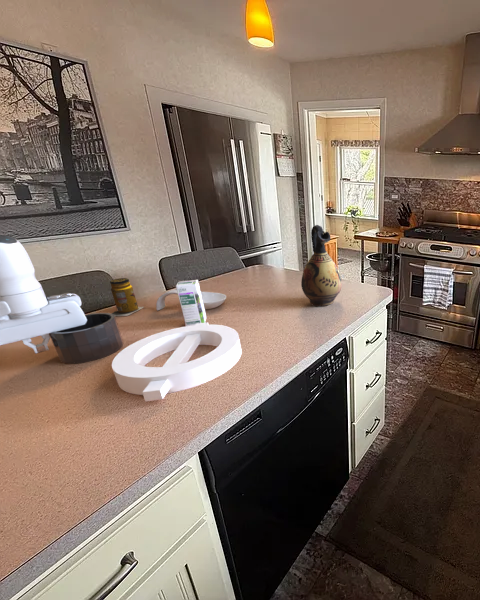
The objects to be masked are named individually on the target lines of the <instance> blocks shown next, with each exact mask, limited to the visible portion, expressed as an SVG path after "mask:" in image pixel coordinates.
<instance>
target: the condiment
mask: <svg viewBox="0 0 480 600" xmlns="http://www.w3.org/2000/svg"><path fill="white" fill-rule="evenodd" d="M109 284H110V287H111V288H110V291H111V295H112V298H113V301H114V304H115V307H116V311H113V312H112V313H111V312H110V314H113V315H114V316H115V317H128V316H131V315H133V314H134V313H137V312H138V311H141V310H142V309H143V308H145V306H139V304H138V301H137V298H136V294H135V291H134V287H133V285H131V282H130V279H129V278H127V277H121V278H115V279H111V280H110V281H109Z"/></svg>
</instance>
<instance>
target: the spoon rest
mask: <svg viewBox="0 0 480 600" xmlns="http://www.w3.org/2000/svg"><path fill="white" fill-rule="evenodd" d="M171 295H177V296H178V293H177V289H176V288H175V289H170V290H167V291H166V292H164V293H163V294H161V295H160V296H159V297H158V298H157V300H156V302H155V309H156V311H160V310H161V311H162V309H164V308H165V307H166V298H167V297H168V296H171ZM201 295H202V300H203V304H204V309H205V310H213V309H216V308H217V307H219V306H222V304H223V303H224V302H225V301H226V299H227V295H226V294H225V293H221V292H215V291H214V292H213V291H201Z"/></svg>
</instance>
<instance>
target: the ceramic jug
mask: <svg viewBox="0 0 480 600" xmlns="http://www.w3.org/2000/svg"><path fill="white" fill-rule="evenodd" d="M310 231H311V232H310V234H311V236H310V238H311V244H312V246H311V247H312V255H311V257H310V258H309V260H308V261H307V263H306V265H305V267H304V269H303V272H302V274H301V283H300V284H301V290H302V292H303V294H304V296H305V297H306V298H307V299H308V300H309V302H310V304H311V305H312V306H313V307H327V306H330V305H333V304H334V302H335V300H336V298H337V297H338V295H339V294H340V292H341V290H342V287H343V285H342V284H343V283H342V276H341V273H340V270H339V268H338V266H337V264H336V263H335V261H334V260H333V258H332V257H331V255H330V254H329V253H328V251H327V250H326V245H325V244H326V243H328V242H330V241H331V234H330V232H329V231H325V232H324V230H323V227H322V226H321V225H319V224H315V225H313V226H312V228H311V230H310Z"/></svg>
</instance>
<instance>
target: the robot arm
mask: <svg viewBox="0 0 480 600" xmlns="http://www.w3.org/2000/svg"><path fill="white" fill-rule="evenodd" d="M82 305H83V302H82V299H81V296H79V295H78V294H76V293H71V292H64V293H60V294H54V295H48V296H46V294H45V292H44V289H43V287H42V284H41V283H40V281H38V279H37V278H36V269H35V266H34V265H33V262H32V260H31V258H30V255H29V254H28V251H27V250H26V249H25V247H24V246H23V244H22V243H21V242H20V240H18V239H16V238H15V237H13V236H9V235H6V234H5V235H4V234H0V346H5V345H8V344H12V343H16V342H21V341H22V343H23V344H24V345H25V346H27V347H29V348H31V349H33V352H34V354H39V353H43V352H47V351H49V350H50V349H49V346H48V344H49V341H50V340H51V338H50V335H49V333H52V332H57V331H61V330H65V329H69V328H73V327H77V326H81V325H85V323H86V322H87V319H86V316H85V315H86V313H85V312H84V311H83V309H82V308H81V306H82ZM36 337H41V338H42V339H43V340H42V342H41V343H37V344H35V343H34V342H32V339H33V338H36Z"/></svg>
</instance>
